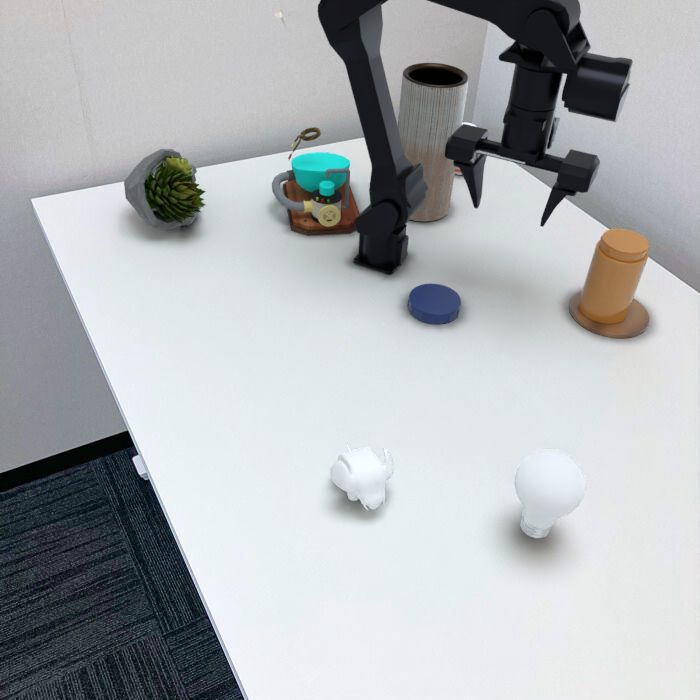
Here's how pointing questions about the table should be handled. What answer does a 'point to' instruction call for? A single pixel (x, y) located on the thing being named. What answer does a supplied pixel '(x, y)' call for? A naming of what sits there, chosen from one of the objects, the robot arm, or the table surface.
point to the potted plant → (164, 190)
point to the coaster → (625, 329)
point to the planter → (431, 128)
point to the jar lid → (434, 303)
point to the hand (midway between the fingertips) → (509, 216)
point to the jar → (613, 276)
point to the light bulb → (548, 489)
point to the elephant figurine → (363, 475)
